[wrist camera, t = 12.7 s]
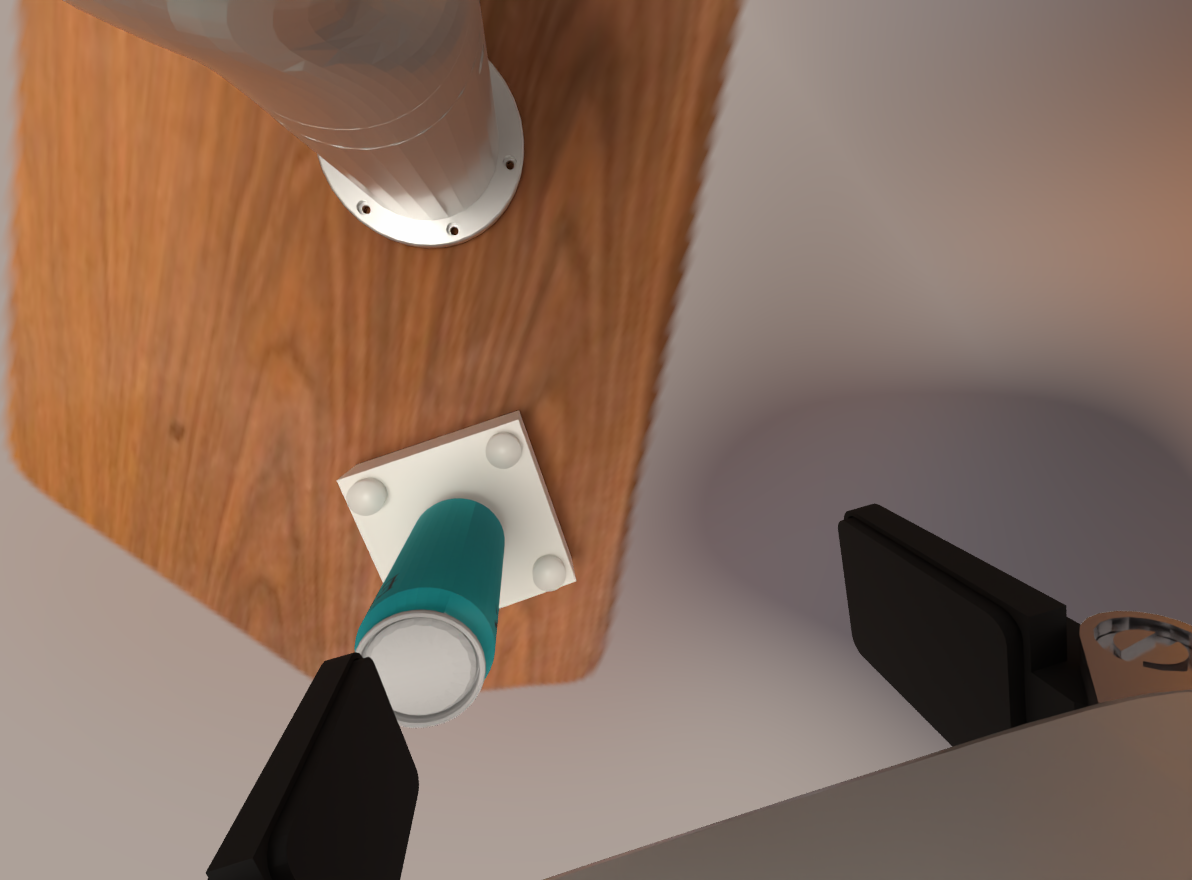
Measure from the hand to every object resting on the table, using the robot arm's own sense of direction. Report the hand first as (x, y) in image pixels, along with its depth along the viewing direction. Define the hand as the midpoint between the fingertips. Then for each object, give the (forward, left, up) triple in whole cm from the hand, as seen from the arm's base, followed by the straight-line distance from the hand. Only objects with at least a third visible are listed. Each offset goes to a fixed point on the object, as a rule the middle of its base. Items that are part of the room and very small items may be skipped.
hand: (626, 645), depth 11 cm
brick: (+5, -8, -30) cm, 31 cm away
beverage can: (+5, -8, -26) cm, 28 cm away
